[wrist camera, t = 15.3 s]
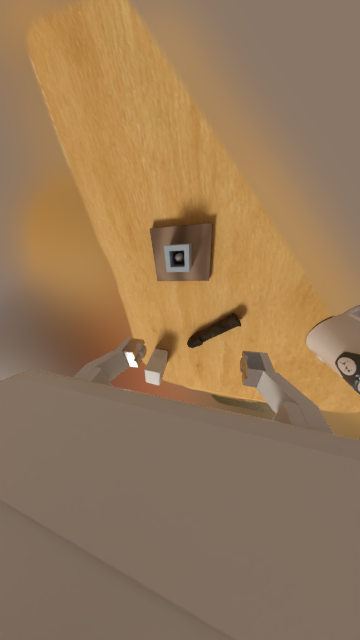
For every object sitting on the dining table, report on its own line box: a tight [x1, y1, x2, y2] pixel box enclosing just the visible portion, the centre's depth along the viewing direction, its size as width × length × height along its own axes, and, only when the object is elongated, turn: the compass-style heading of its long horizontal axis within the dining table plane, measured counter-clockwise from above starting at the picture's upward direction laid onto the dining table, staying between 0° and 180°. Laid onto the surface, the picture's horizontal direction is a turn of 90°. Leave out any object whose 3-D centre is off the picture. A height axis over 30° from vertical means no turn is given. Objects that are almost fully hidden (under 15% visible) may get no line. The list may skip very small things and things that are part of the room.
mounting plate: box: [150, 223, 212, 281], centre depth 31 cm, size 14×12×5 cm
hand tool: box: [187, 313, 241, 348], centre depth 42 cm, size 19×4×5 cm, turn 128°
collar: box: [164, 243, 192, 272], centre depth 30 cm, size 5×5×5 cm
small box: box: [145, 348, 168, 385], centre depth 51 cm, size 8×6×10 cm
